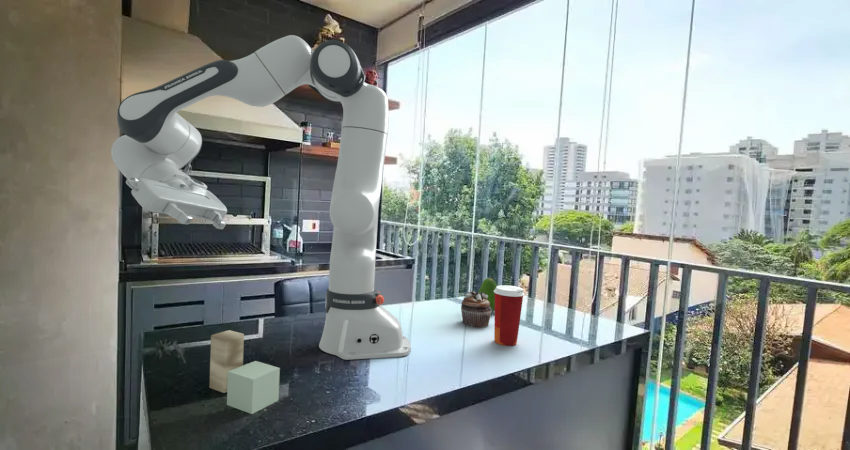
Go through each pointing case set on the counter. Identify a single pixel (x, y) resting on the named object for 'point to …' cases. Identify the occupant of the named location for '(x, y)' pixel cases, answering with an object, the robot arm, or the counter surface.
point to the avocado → (489, 291)
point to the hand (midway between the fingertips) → (205, 224)
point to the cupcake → (476, 310)
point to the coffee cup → (507, 314)
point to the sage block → (253, 386)
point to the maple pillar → (225, 357)
